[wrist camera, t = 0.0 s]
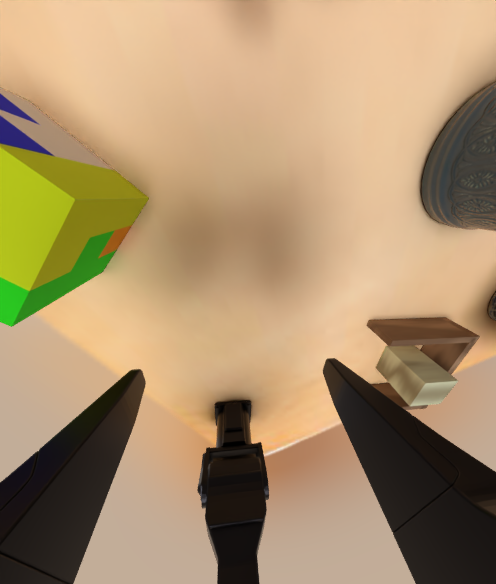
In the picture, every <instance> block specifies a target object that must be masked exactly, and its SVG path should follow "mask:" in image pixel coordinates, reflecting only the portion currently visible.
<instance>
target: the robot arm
mask: <svg viewBox="0 0 496 584" xmlns="http://www.w3.org/2000/svg"><path fill="white" fill-rule="evenodd" d="M323 374H324V377H325V380H326V383H327V386H328V389H329V392H330V395H331V398H332V400H333V403H334V406H335V408H336V410H337V412H338V415H339V417H340V419H341V421H342V423H343V425H344V428H345V430H346V432H347V434H348V436H349V438H350V441H351V443H352V445H353V447H354V449H355V452H356V454H357V456H358V458H359V460H360V463H361V465H362V467H363V469H364V471H365V473H366V475H367V478H368V480H369V482H370V484H371V487H372V489H373V491H374V493H375V495H376V497H377V500H378V502H379V504H380V506H381V508H382V511H383V513H384V515H385V517H386V519H387V521H388V524H389V526H390V528H391V530H392V532H393V535H394V537H395V539H396V541H397V544H398V546H399V548H400V550H401V552H402V554H403V557H404V559H405V561H406V563H407V565H408V568H409V570H410V572H411V574H412V576H413V578H414V581H415V583H416V584H496V472H495V471H493V470H492V469H490V468H489V467H487V466H486V465H484V464H483V463H481V462H480V461H478V460H477V459H475V458H474V457H472V456H471V455H469V454H468V453H466V452H465V451H463V450H461V449H460V448H459V447H457V446H455V445H454V444H453V443H451V442H450V441H448V440H447V439H445V438H444V437H442V436H441V435H439V434H438V433H436V432H435V431H434V430H432V429H431V428H429V427H428V426H427V425H425V424H424V423H422V422H421V421H420V420H418V419H417V418H416V417H414V416H412V415H411V414H410V413H409V412H407V411H406V410H405V409H403V408H402V407H401V406H399V405H398V404H397V403H395V402H394V401H393V400H391V399H390V398H388V397H387V396H386V395H384V394H383V393H382V392H380V391H379V390H378V389H376V388H375V387H373V386H372V385H371V384H369V383H368V382H367V381H365V380H364V379H363V378H361V377H360V376H358V375H357V374H356V373H354V372H353V371H352V370H350V369H349V368H348V367H346V366H345V365H344V364H342V363H341V362H339V361H338V360H337V359H335V358H329V359H326V362H325V365H324V368H323ZM144 388H145V378H144V375H143V372H142V370H141V369H134V370H131V371H129V372H128V373H127V374H126V375H125V376H123V377H122V378H121V379H120V380H119V381H118V382H116V383H115V384H114V385H113V386H112V387H111V388H110V389H108V390H107V391H106V392H105V393H104V394H103V395H102V396H100V397H99V398H98V399H97V400H96V401H95V402H93V403H92V404H91V405H90V406H89V407H88V408H87V409H85V410H84V411H83V412H82V413H81V414H80V415H79V416H78V417H76V418H75V419H74V420H73V421H72V422H70V423H69V424H68V425H67V426H66V427H65V428H63V429H62V430H61V431H60V432H59V433H58V434H57V435H55V436H54V437H53V438H52V439H51V440H50V441H48V442H47V443H46V444H45V445H44V446H43V447H42V448H40V450H39V451H37V452H36V453H35V454H33V455H32V456H31V457H30V458H29V459H28V460H26V461H25V462H24V463H23V464H22V465H21V466H19V467H18V468H17V469H16V470H15V471H14V472H12V473H11V474H10V475H9V476H8V477H6V478H5V479H4V480H3V481H2V482H0V584H73V583H74V580H75V578H76V575H77V573H78V570H79V567H80V565H81V562H82V559H83V557H84V554H85V552H86V549H87V546H88V544H89V541H90V539H91V536H92V533H93V531H94V528H95V525H96V523H97V520H98V518H99V515H100V513H101V510H102V507H103V504H104V502H105V499H106V497H107V494H108V492H109V489H110V486H111V484H112V481H113V478H114V476H115V473H116V471H117V468H118V466H119V463H120V460H121V458H122V455H123V453H124V450H125V447H126V445H127V442H128V439H129V437H130V434H131V432H132V429H133V426H134V423H135V420H136V417H137V413H138V410H139V406H140V402H141V399H142V395H143V392H144ZM250 417H251V401H238V402H226V403H216V404H215V418H216V426H217V442H216V448H210V447H209V448H207V449H206V453H205V454H203V459H202V468H201V473H200V479H199V484H198V493H199V495H200V496H201V501H202V508H206V514H205V519H206V525H207V532H208V537H209V539H210V542H211V545H212V548H213V551H214V554H215V557H216V560H217V563H218V581H217V583H218V584H259V575H258V563H257V554H258V549H259V545H260V541H261V537H262V533H263V529H264V523H265V516H266V500H268V499H269V488H268V478H267V471H266V466H265V460H264V455H263V450H262V445H261V442H258V443H256V444H252V443H251V433H250Z"/></svg>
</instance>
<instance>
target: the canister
mask: <svg viewBox="0 0 496 584" xmlns="http://www.w3.org/2000/svg"><path fill="white" fill-rule="evenodd" d="M422 199H423V203H424V206H425V209H426V210H427V212H428V214H429V215H430V216H431V217H432V218H433V219H435V220H436V221H438V222H441V223H444V224H446V225H448V226H451V227H455V228H462V229H484V230H492V231H496V82H495V83H493V84H491V85H490V86H488V87H486V88H485V89H483V90H481V91H480V92H479V93H477V94H476V95H475V96H473V97H472V98H471V99H470V100H469V101H468V102H466V103H465V104H464V105H463V106H462V107H461V108H460V109H459V110H458V111H457V113H456V114H455V115H454V116H453V117H452V118H451V120H450V121H449V122H448V124H447V125H446V126H445V128H444V129H443V131H442V132H441V134H440V135H439V137H438V139H437V141H436V142H435V144H434V146H433V148H432V151H431V153H430V155H429V158H428V160H427V163H426V166H425V170H424V174H423V180H422Z"/></svg>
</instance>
